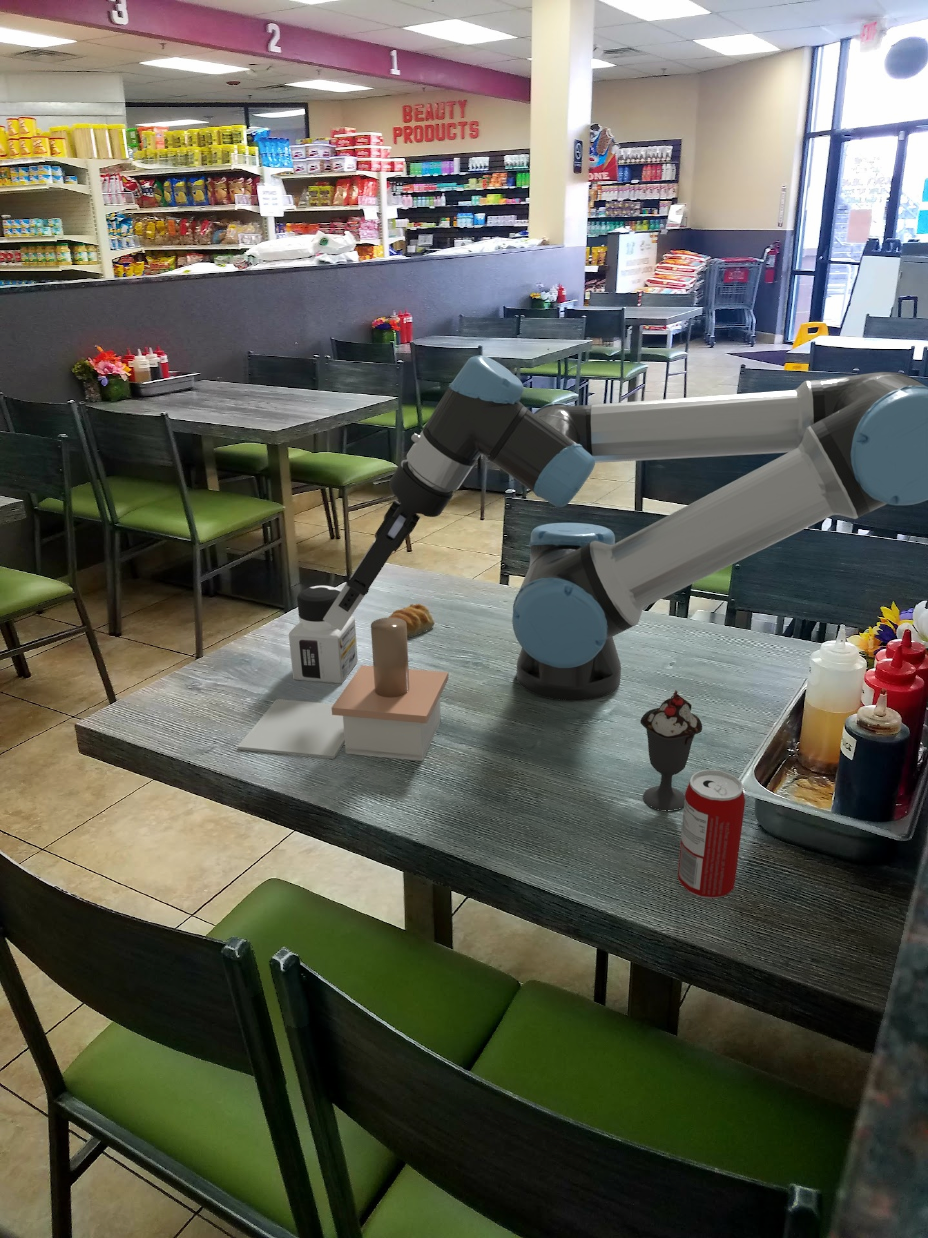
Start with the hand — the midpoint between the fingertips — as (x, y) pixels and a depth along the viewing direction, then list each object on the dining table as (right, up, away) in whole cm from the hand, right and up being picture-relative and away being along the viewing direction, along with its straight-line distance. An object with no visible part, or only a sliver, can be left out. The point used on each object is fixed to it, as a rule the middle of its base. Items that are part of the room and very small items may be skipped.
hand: (346, 602), depth 120 cm
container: (-5, -10, +16) cm, 20 cm away
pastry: (+6, -4, +30) cm, 31 cm away
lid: (+6, -12, -4) cm, 14 cm away
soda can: (+40, -29, -29) cm, 57 cm away
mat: (-6, -17, 0) cm, 18 cm away
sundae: (+39, -23, -16) cm, 48 cm away
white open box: (+7, -18, -2) cm, 19 cm away
